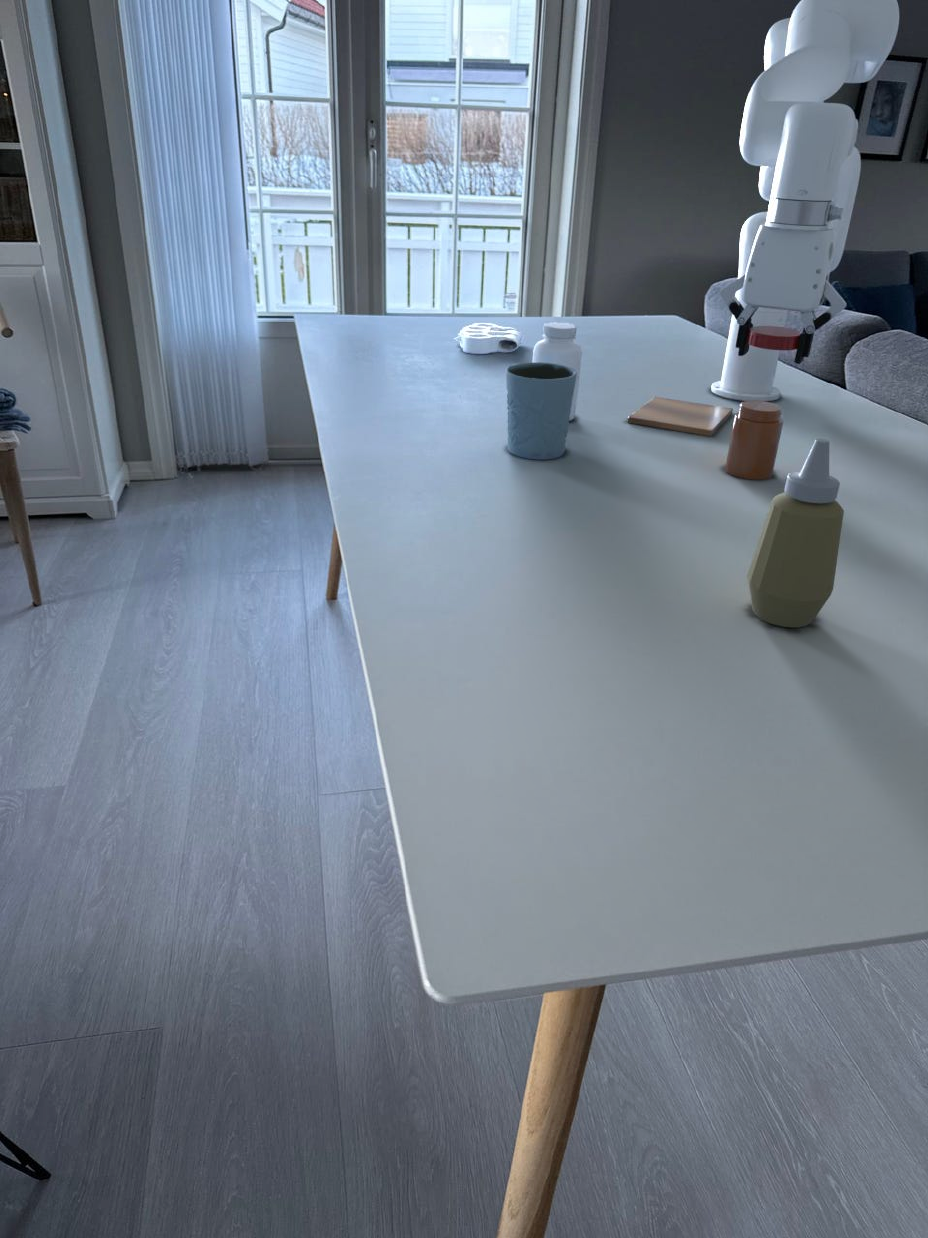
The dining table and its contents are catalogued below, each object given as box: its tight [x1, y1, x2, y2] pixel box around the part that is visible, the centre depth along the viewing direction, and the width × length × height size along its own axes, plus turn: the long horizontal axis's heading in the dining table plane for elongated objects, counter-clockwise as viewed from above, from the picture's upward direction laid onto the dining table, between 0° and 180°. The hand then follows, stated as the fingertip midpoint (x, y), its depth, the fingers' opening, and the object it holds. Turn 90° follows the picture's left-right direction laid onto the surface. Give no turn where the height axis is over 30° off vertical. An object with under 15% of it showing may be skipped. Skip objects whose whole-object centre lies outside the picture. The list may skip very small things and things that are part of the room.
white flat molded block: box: [453, 322, 524, 355], centre depth 201 cm, size 3×18×15 cm
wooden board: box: [627, 396, 734, 437], centre depth 154 cm, size 16×14×1 cm
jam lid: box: [747, 326, 803, 351], centre depth 121 cm, size 7×7×2 cm
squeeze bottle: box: [746, 438, 845, 628], centre depth 86 cm, size 8×8×18 cm
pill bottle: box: [531, 321, 583, 422], centre depth 148 cm, size 8×8×15 cm
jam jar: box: [724, 401, 784, 481], centre depth 128 cm, size 7×7×10 cm
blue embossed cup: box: [505, 362, 577, 460], centre depth 132 cm, size 10×10×12 cm
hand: (770, 356), depth 122 cm, fingers closed on jam lid, 6 cm apart
